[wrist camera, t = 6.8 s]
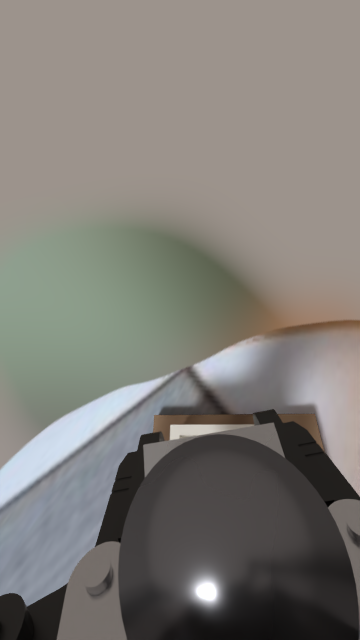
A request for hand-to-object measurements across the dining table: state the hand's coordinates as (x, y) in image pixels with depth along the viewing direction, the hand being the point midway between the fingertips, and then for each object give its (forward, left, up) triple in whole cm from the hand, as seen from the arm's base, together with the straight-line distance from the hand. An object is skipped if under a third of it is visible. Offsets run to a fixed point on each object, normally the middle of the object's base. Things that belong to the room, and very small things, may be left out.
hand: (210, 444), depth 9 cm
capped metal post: (0, +2, -8) cm, 9 cm away
